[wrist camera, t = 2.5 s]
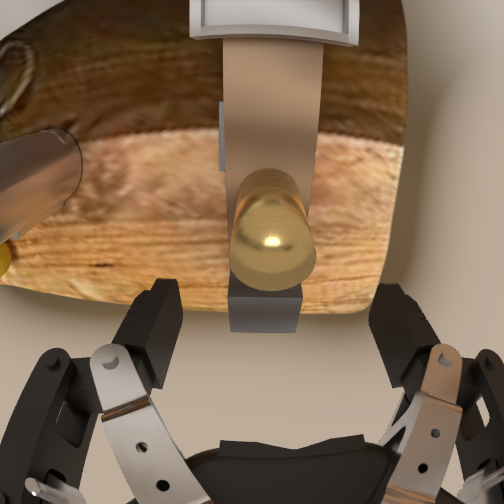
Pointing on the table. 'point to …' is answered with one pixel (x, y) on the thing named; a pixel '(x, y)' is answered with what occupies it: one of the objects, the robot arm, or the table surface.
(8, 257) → the lemon
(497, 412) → the robot arm
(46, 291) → the table surface
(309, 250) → the brass weight
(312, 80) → the seesaw
